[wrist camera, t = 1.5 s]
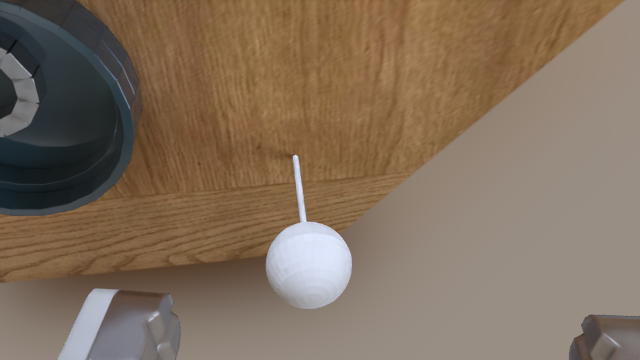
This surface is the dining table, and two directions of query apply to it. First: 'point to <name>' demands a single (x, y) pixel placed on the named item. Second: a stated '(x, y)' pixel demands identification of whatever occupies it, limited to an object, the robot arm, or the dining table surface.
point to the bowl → (67, 110)
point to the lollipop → (308, 260)
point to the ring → (20, 85)
